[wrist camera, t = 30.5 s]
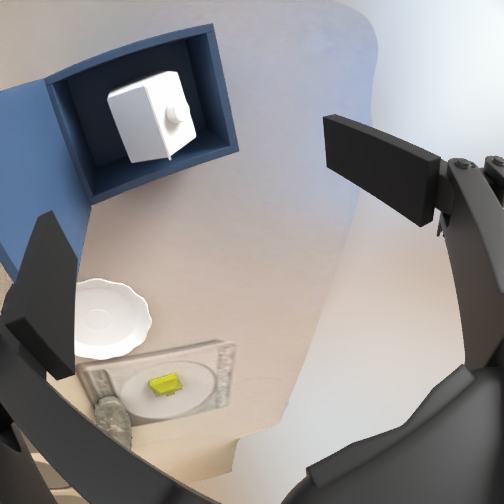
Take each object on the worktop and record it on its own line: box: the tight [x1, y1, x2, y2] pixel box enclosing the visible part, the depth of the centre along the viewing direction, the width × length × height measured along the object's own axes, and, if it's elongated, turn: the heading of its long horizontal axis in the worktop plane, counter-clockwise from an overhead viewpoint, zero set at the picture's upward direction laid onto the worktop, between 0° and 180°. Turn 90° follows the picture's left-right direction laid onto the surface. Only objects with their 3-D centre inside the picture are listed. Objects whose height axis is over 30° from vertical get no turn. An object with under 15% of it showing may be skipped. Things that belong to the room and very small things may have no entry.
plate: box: [74, 279, 152, 360], centre depth 56 cm, size 21×21×2 cm
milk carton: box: [107, 70, 196, 163], centre depth 32 cm, size 7×7×19 cm
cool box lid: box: [0, 79, 92, 283], centre depth 20 cm, size 20×16×9 cm
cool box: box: [44, 23, 239, 206], centre depth 36 cm, size 19×16×12 cm
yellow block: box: [149, 373, 183, 397], centre depth 73 cm, size 10×9×3 cm
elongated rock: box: [94, 396, 132, 450], centre depth 75 cm, size 35×5×10 cm
